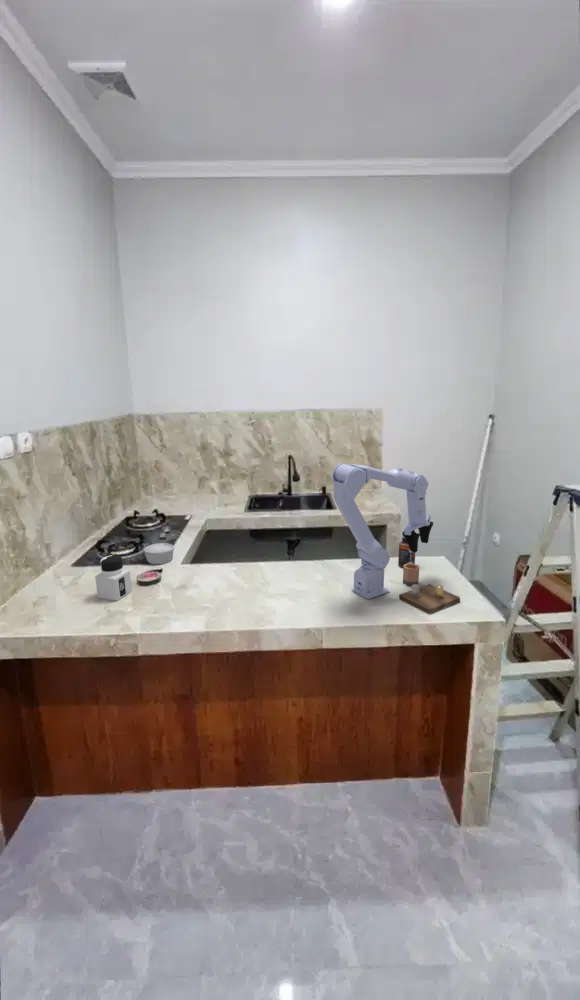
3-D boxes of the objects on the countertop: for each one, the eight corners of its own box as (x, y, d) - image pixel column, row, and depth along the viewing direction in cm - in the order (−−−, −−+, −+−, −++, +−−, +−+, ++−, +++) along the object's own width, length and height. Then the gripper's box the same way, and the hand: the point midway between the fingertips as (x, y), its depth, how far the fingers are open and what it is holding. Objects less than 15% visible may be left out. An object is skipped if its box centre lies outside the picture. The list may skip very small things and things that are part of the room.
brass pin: (439, 603, 145) (440, 588, 144) (433, 600, 147) (434, 585, 146) (443, 601, 146) (444, 586, 145) (438, 599, 148) (439, 584, 147)
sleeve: (410, 587, 157) (411, 570, 155) (399, 582, 161) (400, 565, 159) (421, 583, 159) (422, 567, 158) (410, 578, 163) (411, 562, 162)
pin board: (428, 614, 139) (429, 598, 137) (398, 598, 148) (399, 584, 147) (459, 601, 146) (461, 587, 145) (429, 588, 156) (430, 574, 155)
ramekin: (181, 558, 185) (180, 545, 184) (159, 568, 176) (158, 554, 175) (161, 553, 191) (160, 541, 190) (139, 562, 182) (137, 549, 181)
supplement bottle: (415, 569, 171) (416, 539, 168) (398, 568, 172) (399, 539, 170) (414, 563, 177) (415, 534, 174) (397, 562, 178) (399, 533, 175)
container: (132, 591, 156) (128, 554, 153) (117, 601, 149) (112, 563, 146) (113, 588, 159) (109, 552, 156) (97, 598, 152) (92, 560, 149)
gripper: (417, 518, 147) (420, 557, 151) (438, 503, 157) (440, 540, 161) (397, 515, 152) (400, 553, 156) (418, 501, 162) (421, 537, 166)
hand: (419, 546), depth 159 cm, fingers open, 7 cm apart
